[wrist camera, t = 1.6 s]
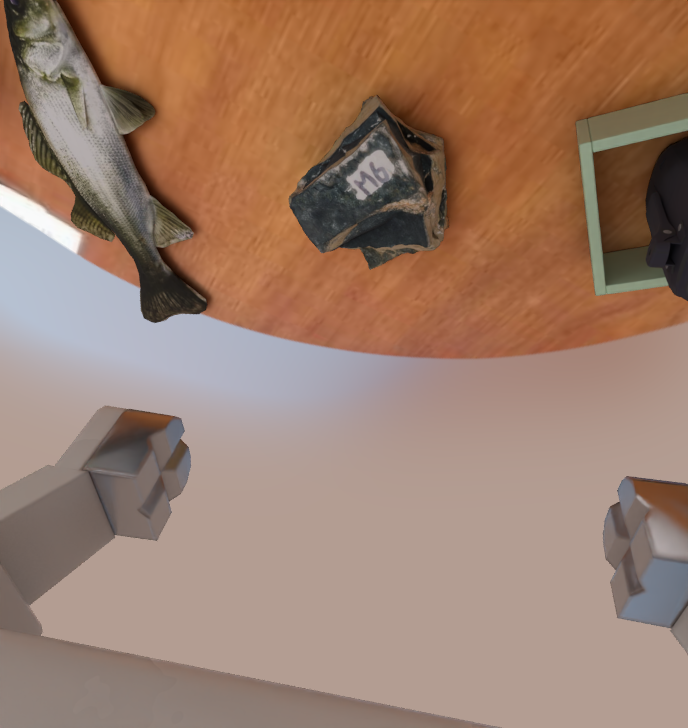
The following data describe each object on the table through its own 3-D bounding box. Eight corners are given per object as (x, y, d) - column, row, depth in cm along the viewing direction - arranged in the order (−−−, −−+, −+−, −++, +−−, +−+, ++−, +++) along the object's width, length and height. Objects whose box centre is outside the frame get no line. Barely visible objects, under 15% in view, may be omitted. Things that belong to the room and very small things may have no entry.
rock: (375, 262, 41) (356, 306, 37) (295, 147, 37) (263, 181, 33) (486, 205, 36) (479, 247, 32) (408, 67, 33) (388, 94, 28)
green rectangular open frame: (771, 70, 28) (798, 91, 25) (760, 236, 33) (782, 270, 30) (575, 121, 32) (578, 144, 29) (591, 263, 37) (595, 296, 34)
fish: (91, -78, 32) (-49, -41, 35) (65, -76, 30) (-82, -36, 33) (231, 309, 48) (126, 315, 50) (219, 328, 46) (111, 332, 48)
